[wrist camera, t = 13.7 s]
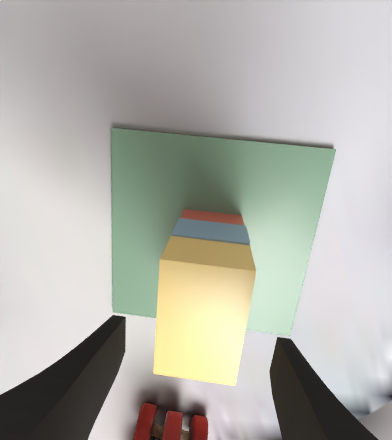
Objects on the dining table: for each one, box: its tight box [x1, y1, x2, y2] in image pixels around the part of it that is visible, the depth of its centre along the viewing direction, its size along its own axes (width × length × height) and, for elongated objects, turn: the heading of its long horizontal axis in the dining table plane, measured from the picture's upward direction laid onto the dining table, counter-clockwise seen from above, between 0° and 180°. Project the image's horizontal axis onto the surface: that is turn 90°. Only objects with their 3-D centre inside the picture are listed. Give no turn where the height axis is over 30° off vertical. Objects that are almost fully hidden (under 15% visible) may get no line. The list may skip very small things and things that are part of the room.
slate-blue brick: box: [171, 218, 251, 245], centre depth 18 cm, size 4×7×3 cm, turn 175°
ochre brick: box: [153, 236, 256, 386], centre depth 15 cm, size 4×7×3 cm, turn 175°
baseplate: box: [111, 128, 336, 336], centre depth 22 cm, size 16×16×1 cm
